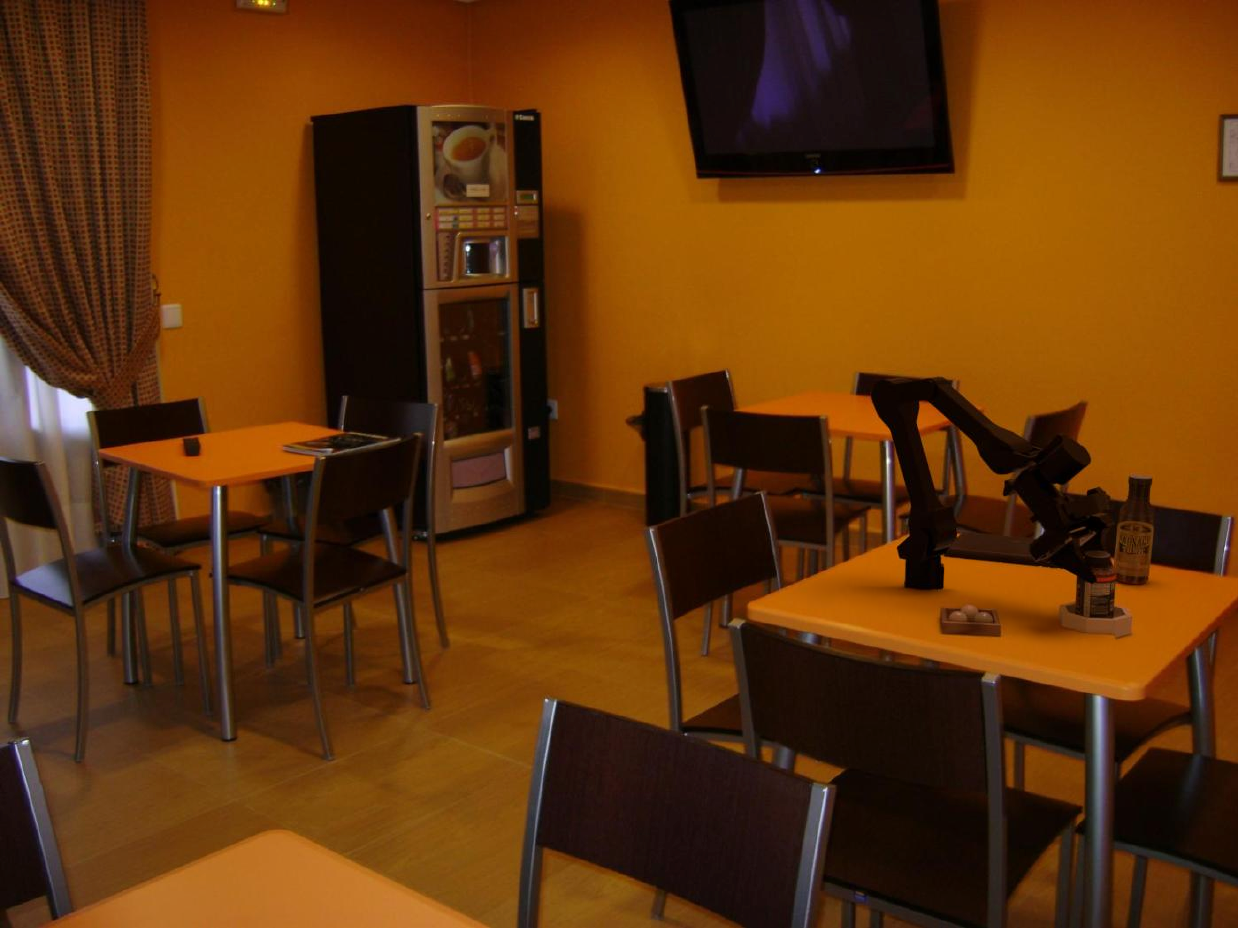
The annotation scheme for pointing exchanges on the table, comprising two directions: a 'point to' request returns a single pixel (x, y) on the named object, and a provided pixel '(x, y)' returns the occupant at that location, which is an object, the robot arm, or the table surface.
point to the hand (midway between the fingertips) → (1104, 578)
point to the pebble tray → (970, 624)
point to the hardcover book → (995, 549)
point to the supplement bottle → (1097, 588)
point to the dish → (1097, 621)
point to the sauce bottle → (1135, 533)
